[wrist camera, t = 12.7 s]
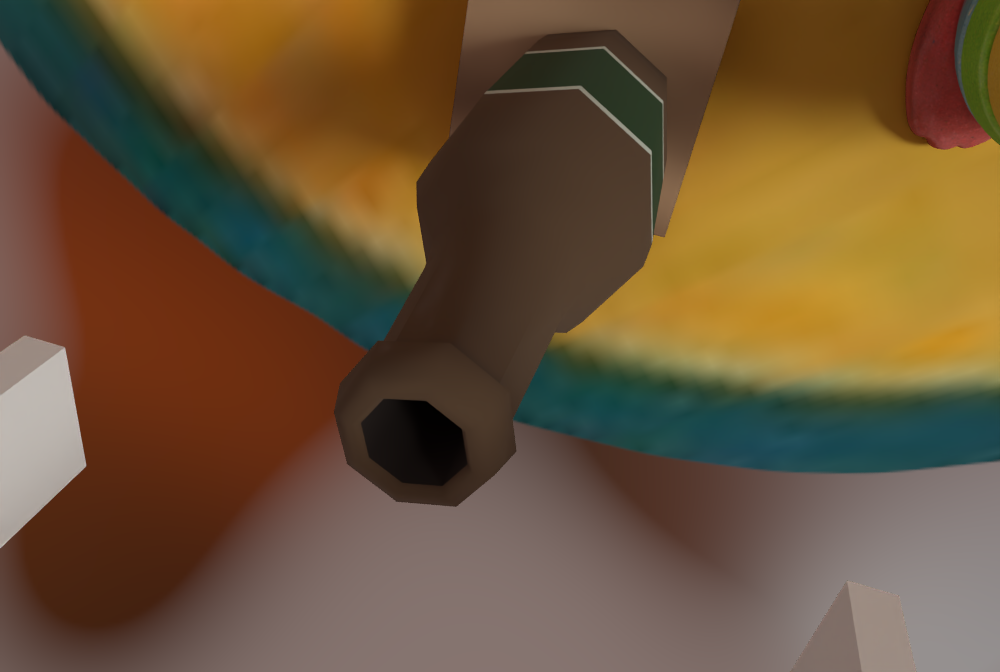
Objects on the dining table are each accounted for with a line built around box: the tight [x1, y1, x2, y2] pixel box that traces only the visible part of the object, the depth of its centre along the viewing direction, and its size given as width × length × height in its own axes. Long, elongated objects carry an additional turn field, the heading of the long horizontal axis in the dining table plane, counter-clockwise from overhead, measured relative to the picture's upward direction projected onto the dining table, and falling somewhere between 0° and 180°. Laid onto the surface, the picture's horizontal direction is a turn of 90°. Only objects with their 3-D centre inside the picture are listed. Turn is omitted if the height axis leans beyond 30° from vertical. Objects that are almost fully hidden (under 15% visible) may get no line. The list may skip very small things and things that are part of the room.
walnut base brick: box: [449, 0, 740, 237], centre depth 37 cm, size 11×11×5 cm
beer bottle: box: [334, 29, 667, 507], centre depth 25 cm, size 8×8×24 cm
